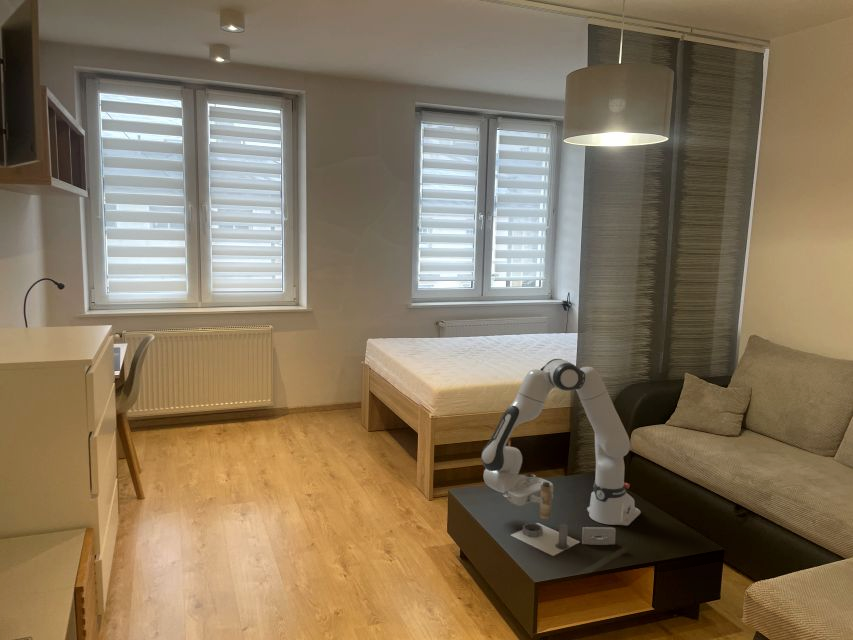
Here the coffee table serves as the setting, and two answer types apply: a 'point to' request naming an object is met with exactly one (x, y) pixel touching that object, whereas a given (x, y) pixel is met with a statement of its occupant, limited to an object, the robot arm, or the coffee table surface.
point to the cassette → (598, 531)
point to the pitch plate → (546, 538)
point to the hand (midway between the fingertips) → (547, 499)
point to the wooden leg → (545, 500)
